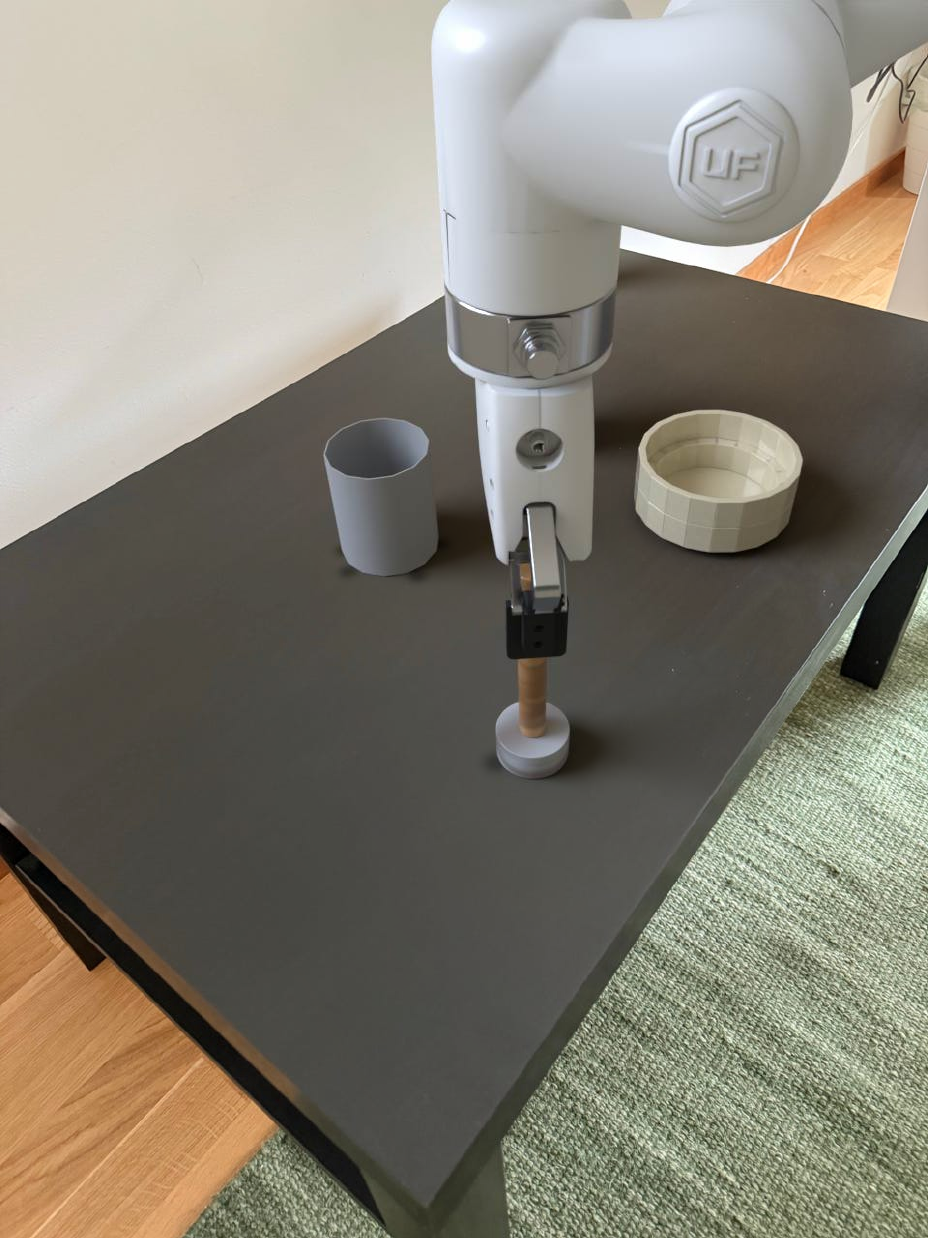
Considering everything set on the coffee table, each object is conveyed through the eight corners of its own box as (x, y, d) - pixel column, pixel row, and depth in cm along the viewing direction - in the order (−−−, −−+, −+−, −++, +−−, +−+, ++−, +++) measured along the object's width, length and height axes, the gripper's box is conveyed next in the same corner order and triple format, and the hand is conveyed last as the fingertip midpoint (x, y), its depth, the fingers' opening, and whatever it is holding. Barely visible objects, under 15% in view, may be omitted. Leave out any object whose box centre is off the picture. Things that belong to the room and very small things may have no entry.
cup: (323, 547, 81) (302, 451, 74) (390, 501, 85) (377, 406, 78) (389, 589, 76) (375, 492, 69) (458, 539, 80) (450, 442, 73)
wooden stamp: (583, 756, 64) (594, 575, 52) (524, 791, 62) (521, 612, 50) (540, 710, 67) (541, 529, 55) (482, 742, 65) (470, 563, 53)
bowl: (821, 519, 80) (837, 461, 76) (707, 581, 75) (717, 523, 71) (712, 448, 88) (721, 393, 84) (603, 500, 83) (606, 444, 79)
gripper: (651, 417, 35) (616, 703, 48) (584, 230, 48) (571, 496, 60) (455, 430, 35) (471, 713, 48) (439, 240, 48) (454, 503, 60)
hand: (526, 592), depth 54 cm, fingers open, 9 cm apart
